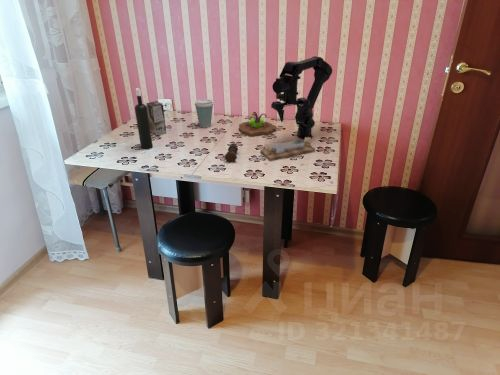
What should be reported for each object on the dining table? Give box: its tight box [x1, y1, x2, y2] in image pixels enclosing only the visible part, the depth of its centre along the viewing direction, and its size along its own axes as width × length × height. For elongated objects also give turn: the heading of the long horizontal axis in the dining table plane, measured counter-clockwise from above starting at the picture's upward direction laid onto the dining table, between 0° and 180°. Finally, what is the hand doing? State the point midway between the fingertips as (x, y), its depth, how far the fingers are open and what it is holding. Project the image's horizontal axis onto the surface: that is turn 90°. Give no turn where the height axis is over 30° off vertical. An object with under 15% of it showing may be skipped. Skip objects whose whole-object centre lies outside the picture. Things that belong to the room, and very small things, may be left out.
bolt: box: [224, 143, 239, 164], centre depth 179 cm, size 6×5×15 cm
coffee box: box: [145, 100, 167, 136], centre depth 205 cm, size 9×6×16 cm
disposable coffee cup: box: [194, 98, 214, 129], centre depth 213 cm, size 11×11×15 cm
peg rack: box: [260, 137, 316, 162], centre depth 182 cm, size 25×10×6 cm, turn 114°
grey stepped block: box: [270, 139, 305, 155], centre depth 181 cm, size 16×6×3 cm, turn 114°
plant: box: [238, 111, 277, 138], centre depth 207 cm, size 20×20×11 cm
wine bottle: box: [134, 87, 154, 150], centre depth 183 cm, size 6×6×30 cm
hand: (289, 120), depth 188 cm, fingers open, 9 cm apart
